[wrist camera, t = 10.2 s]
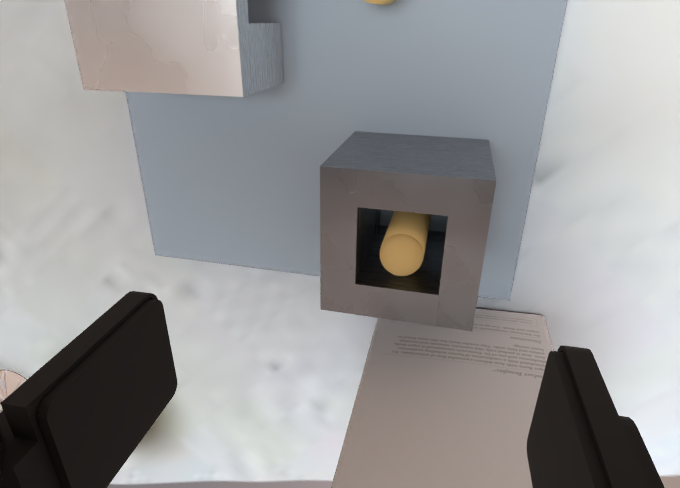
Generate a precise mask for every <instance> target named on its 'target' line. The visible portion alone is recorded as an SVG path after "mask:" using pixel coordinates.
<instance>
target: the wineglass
mask: <svg viewBox="0 0 680 488" xmlns="http://www.w3.org/2000/svg"><path fill="white" fill-rule="evenodd" d="M25 381H26V379H25V378H24V377H22V376H20V375H18V374H16V373H14V372H11V371H8V370H0V401H1V402H2V401H3V400H4V399H5V398H7V397H8V396H9V395H10V394H11V393H12V392H14V391H15V390H16V389H17V388H18V387H19V386H21V385H22V384H23V383H24V382H25ZM1 410H2V406H1V404H0V411H1Z"/></svg>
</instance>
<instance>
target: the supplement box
mask: <svg viewBox="0 0 680 488" xmlns="http://www.w3.org/2000/svg"><path fill="white" fill-rule="evenodd" d="M550 351H553V347H552V344H551V340H550V336H549V332H548V328H547V324H546V320H545V318H544V317H543V316H541V315H536V314H525V313H515V312H505V311H496V310H486V309H476V311H475V317H474V323H473V329H472V331H466V330H459V329H452V328H445V327H438V326H432V325H425V324H418V323H411V322H404V321H397V320H391V319H384V318H378V320H377V323H376V327H375V330H374V334H373V337H372V341H371V345H370V348H369V352H368V356H367V359H366V363H365V367H364V370H363V374H362V377H361V381H360V385H359V388H358V392H357V396H356V399H355V403H354V406H353V410H352V414H351V417H350V421H349V425H348V428H347V432H346V436H345V439H344V443H343V446H342V450H341V454H340V457H339V461H338V464H337V468H336V472H335V475H334V479H333V482H332V486H331V488H533V486H532V481H531V475H530V469H529V464H528V458H527V438H528V434H529V430H530V426H531V422H532V418H533V414H534V410H535V406H536V402H537V398H538V394H539V390H540V386H541V382H542V378H543V374H544V370H545V366H546V362H547V358H548V355H549V352H550Z"/></svg>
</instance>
